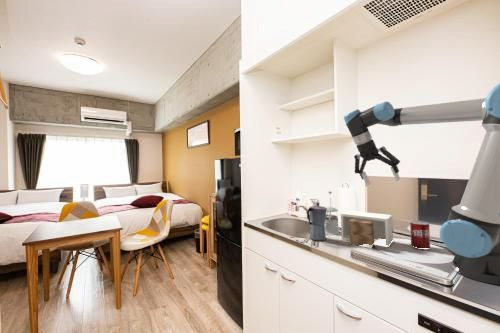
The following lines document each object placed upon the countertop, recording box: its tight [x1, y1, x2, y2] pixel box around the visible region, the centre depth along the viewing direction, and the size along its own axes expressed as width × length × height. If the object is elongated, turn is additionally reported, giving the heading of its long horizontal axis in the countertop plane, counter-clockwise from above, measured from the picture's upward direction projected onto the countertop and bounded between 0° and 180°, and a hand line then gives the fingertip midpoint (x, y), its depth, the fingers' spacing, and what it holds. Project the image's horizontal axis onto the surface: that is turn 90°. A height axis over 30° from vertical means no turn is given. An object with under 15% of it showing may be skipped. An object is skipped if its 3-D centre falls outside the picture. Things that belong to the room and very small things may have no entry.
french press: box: [324, 191, 341, 236], centre depth 132 cm, size 10×12×25 cm
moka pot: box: [306, 202, 327, 242], centre depth 120 cm, size 10×15×20 cm, turn 129°
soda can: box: [409, 220, 431, 249], centre depth 102 cm, size 7×7×12 cm
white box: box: [340, 209, 394, 246], centre depth 114 cm, size 22×11×14 cm, turn 47°
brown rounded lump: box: [349, 219, 374, 247], centre depth 108 cm, size 10×5×12 cm, turn 47°
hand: (382, 182), depth 102 cm, fingers open, 13 cm apart
